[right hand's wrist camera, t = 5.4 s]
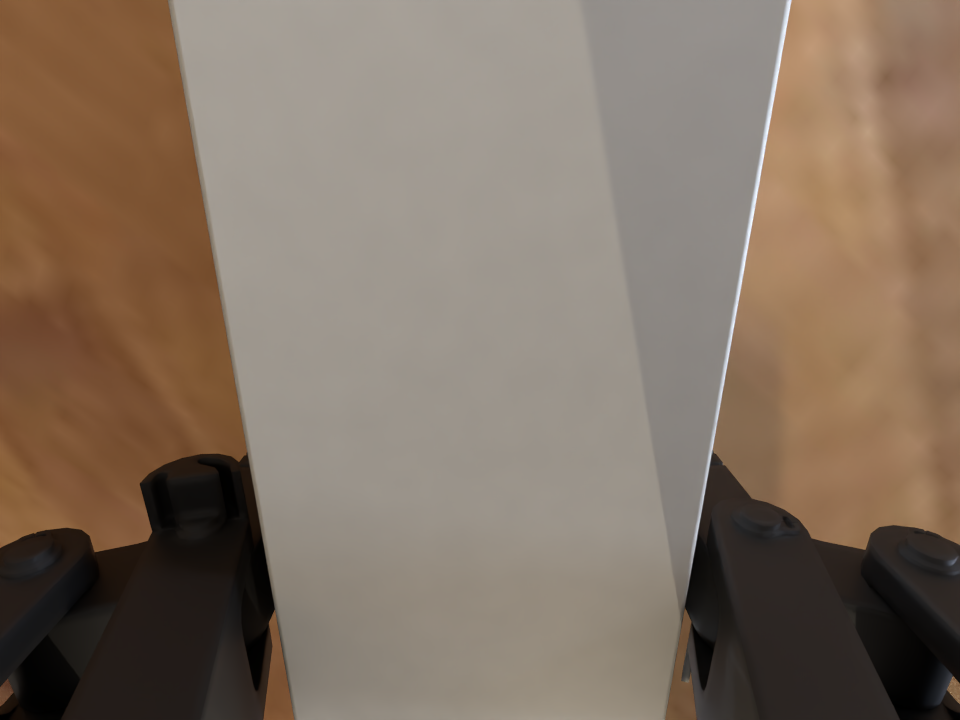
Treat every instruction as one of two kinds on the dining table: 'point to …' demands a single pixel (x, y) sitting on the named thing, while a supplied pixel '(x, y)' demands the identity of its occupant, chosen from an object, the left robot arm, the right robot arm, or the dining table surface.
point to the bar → (479, 329)
